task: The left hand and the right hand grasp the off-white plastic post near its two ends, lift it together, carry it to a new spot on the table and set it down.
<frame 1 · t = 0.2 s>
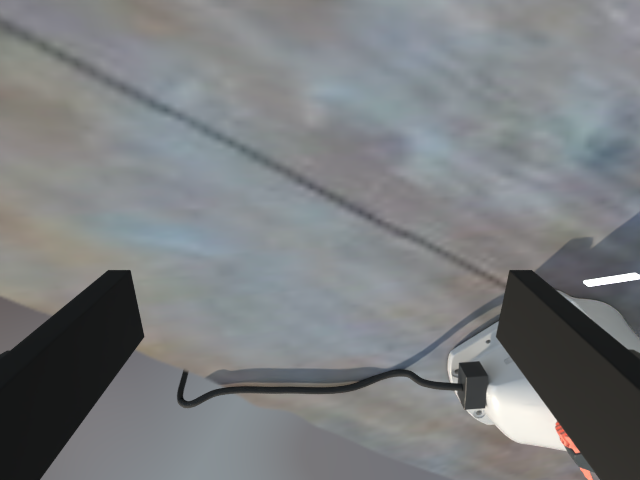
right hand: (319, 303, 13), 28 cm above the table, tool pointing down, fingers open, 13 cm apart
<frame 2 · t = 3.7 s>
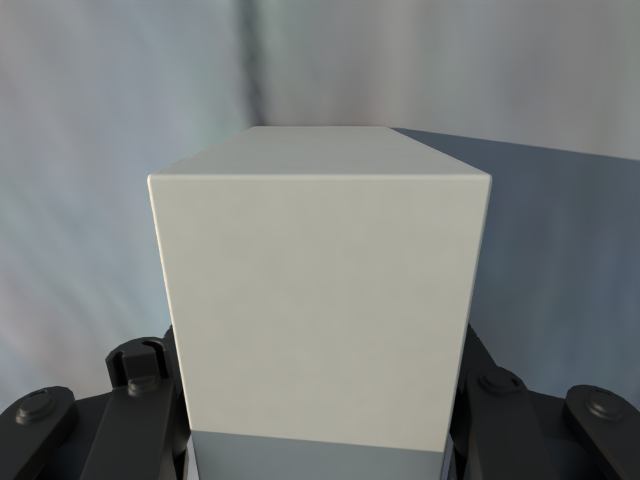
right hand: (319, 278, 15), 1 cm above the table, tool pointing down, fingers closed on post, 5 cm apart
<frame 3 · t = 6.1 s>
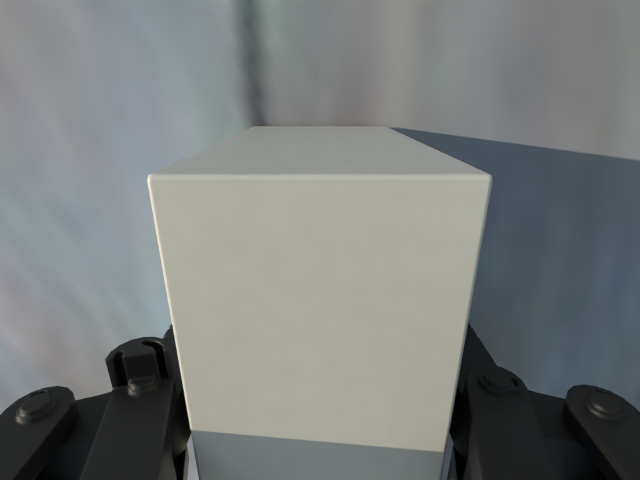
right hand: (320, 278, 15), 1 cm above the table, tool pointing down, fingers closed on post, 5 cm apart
when the right hand's fingers open (1 cm above the table, at t = 10.0 s): post stays where it is, on the table.
when the left hand's fingers open (4 cm above the table, at t = 10.2 s): post stays where it is, on the table.
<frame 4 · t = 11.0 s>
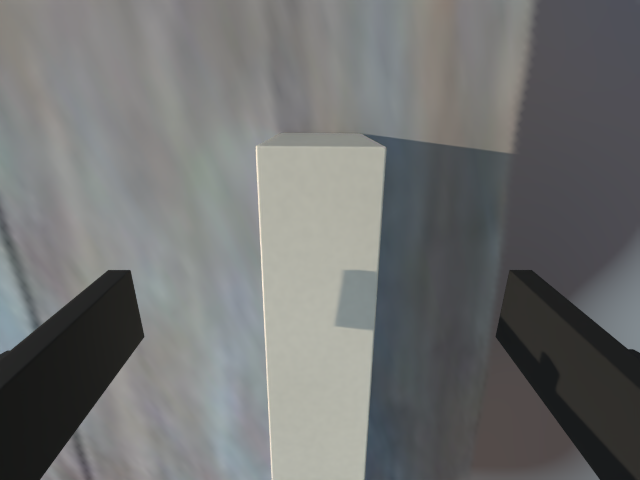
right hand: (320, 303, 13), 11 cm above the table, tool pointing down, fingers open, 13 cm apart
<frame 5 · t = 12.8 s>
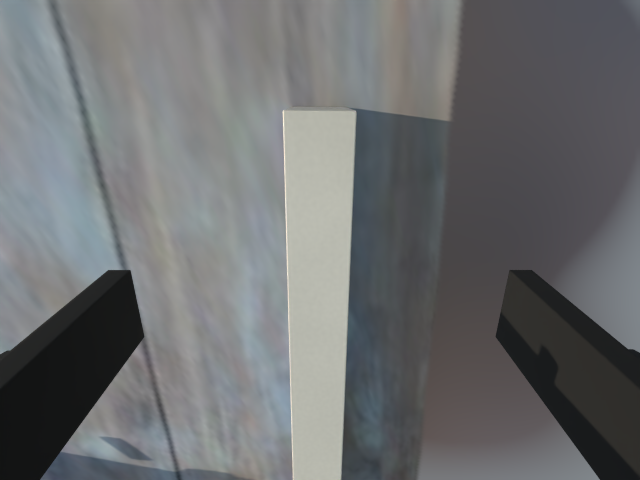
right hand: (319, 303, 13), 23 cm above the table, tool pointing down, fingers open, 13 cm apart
post: (317, 408, 45), on the table
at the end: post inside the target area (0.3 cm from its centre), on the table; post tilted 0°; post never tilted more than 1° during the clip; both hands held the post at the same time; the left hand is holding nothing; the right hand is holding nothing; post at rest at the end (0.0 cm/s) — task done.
